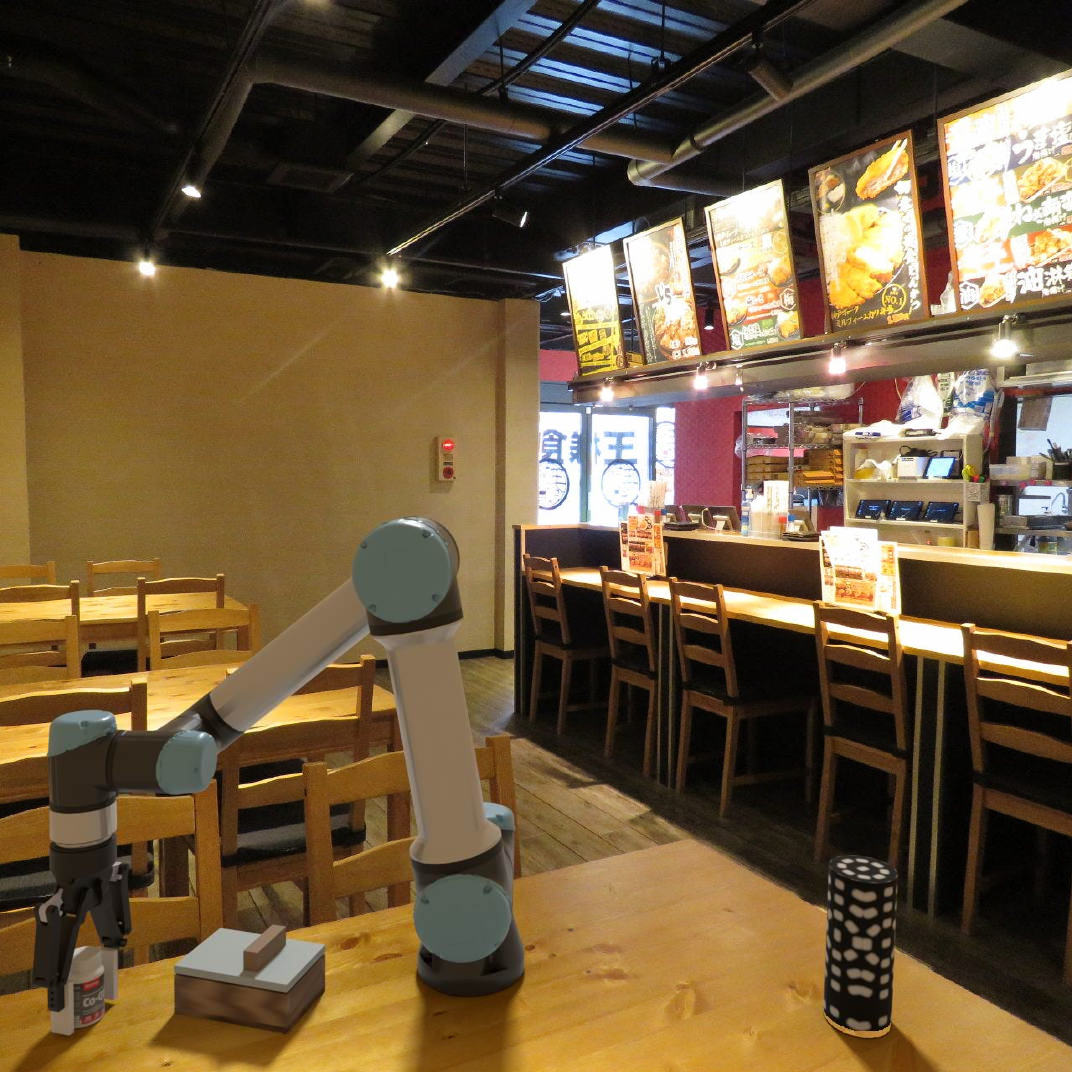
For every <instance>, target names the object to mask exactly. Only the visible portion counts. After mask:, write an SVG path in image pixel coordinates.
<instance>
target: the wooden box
mask: <svg viewBox="0 0 1072 1072" xmlns="http://www.w3.org/2000/svg"><path fill="white" fill-rule="evenodd" d="M173 979H174V980H173V983H174V985H173V987H174V988H173V989H174V990H173V991H174V993H173V994H174V995H173V999H174V1003H173V1004H174V1006H173V1007H174V1010H173V1011H174V1012H173V1013H174V1014H178V1015H184V1016H189V1017H193V1018H194V1017H195V1018H198V1019H205V1020H209V1021H213V1022H214V1021H215V1022H219V1023H220V1022H221V1023H226V1024H232V1025H236V1026H241V1027H243V1026H244V1027H246V1028H252V1029H258V1030H262V1031H267V1032H272V1033H273V1032H274V1033H279V1034H285V1035H287V1034H288V1033H289V1032H291V1030H292V1029H293V1028H294V1026H295V1025H296V1024H297V1023H298V1022H299V1020H300V1019H301V1018H302V1017H303V1016H304V1015H305V1014H306V1013H307V1012H308V1010H309V1009H310V1008H311V1007H312V1006H313V1004H315V1003H316V1001H317V1000H318V999H319V998H320V997H321V996H322V994H323V993H324V992H325V991H326V953H324V954H323V955H322V956H321V957H320V958H319V959H318V960H317V961H316V962H315V963H314V964H313V965H312V966H311V968H310V969H309V970H308V971H307V972H306V973H305V974H304V975H303V976H302V977H301V978H300V979H299V980H298V981H297V982H296V983H295V984H294V986H293V987H292V988H291V989H290V990H289V991H288V992H287V993H286V992H280V991H274V990H269V989H263V988H257V987H252V986H246V985H240V984H235V983H229V982H223V981H217V980H212V979H206V978H200V977H195V976H189V975H183V974H178V973H174V975H173Z"/></svg>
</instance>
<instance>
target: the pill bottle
mask: <svg viewBox="0 0 1072 1072" xmlns="http://www.w3.org/2000/svg"><path fill="white" fill-rule="evenodd" d="M98 947H99V946H96V945H95V946H94V945H84V946H80V947H77V948H75V950H74V955H73V959H72V963H71V968H70V972H69V976H68V980H73V993H74V1029H81V1028H86V1027H89V1026H92V1025H94V1024H96V1023H98V1022H99V1021H100V1020H101V1019H102V1018H103V1017H104V1015H105V1010H106V1007H105V1005H106V1004H105V1000H106V999H104V965H103V964H102V963H101V950H100V948H98Z"/></svg>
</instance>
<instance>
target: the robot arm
mask: <svg viewBox="0 0 1072 1072" xmlns="http://www.w3.org/2000/svg"><path fill="white" fill-rule="evenodd" d="M354 553H355V554H354V556H353V560H352V565H351V576H350V577H349V578H348V579H347V580H346V581H345V582H344V583H342V584H341V585H340V586H339V587H337V588H336V589H335V590H334V591H332V592H331V593H330V594H328V595H327V596H326V597H325V598H324V599H323V600H321V601H320V602H318V603H317V604H315V606H314V607H312V608H311V609H310V610H308V611H307V612H306V613H305V614H304V615H302V616H301V617H300V618H299V619H297V620H296V621H295V622H294V623H293V624H291V625H290V626H289V627H288V628H286V629H285V630H284V631H282V632H281V633H280V634H279V635H278V636H277V637H276V638H274V639H273V640H271V641H270V642H269V643H268V644H266V645H265V646H264V647H263V648H261V650H259V651H257V653H255V654H254V655H253V656H252V657H250V658H249V659H248V660H247V661H246V662H244V663H243V664H242V665H241V666H239V667H238V668H236V670H234V671H233V672H232V673H231V674H230V675H228V676H227V677H226V678H224V679H223V680H222V681H221V682H220V683H218V684H217V685H216V686H214V687H213V688H212V689H211V690H210V691H208V692H207V693H206V694H204V695H203V696H202V697H200V698H199V699H198V700H197V701H195V703H193V704H192V705H191V706H189V707H188V708H187V709H185V710H184V711H183V712H181V713H180V714H179V715H177V716H176V717H174V718H173V719H171V720H170V721H168V722H167V723H165V724H163V725H162V726H160V727H159V728H158V729H155V730H131V729H130V730H127V729H118V727H117V726H118V724H117V720H116V716H115V715H114V714H113V713H112V712H110V711H108V710H107V711H106V710H105V711H103V710H101V709H89V710H88V709H87V710H85V709H84V710H79V711H77V710H76V711H73V712H72V711H71V712H67V713H64V714H62V715H59V716H58V717H56V718H54V719H53V721H52V722H51V723H50V724H49V729H48V746H47V753H46V757H47V759H48V789H49V793H48V794H49V799H48V802H49V805H48V807H49V808H48V809H49V815H48V816H49V840H51V842H50V843H49V846H48V847H49V850H48V851H49V871H50V873H51V874H52V876H53V877H54V879H55V885H54V887H53V888H54V889H53V891H52V897H50V898H49V900H47V901H46V902H45V903H42V902H38V903H36V904H35V905H34V907H33V915H34V918H35V924H36V926H35V938H34V948H33V949H34V950H33V951H34V952H33V965H32V975H31V976H32V979H31V985H32V986H33V987H38V988H42V989H46V990H47V992H46V993H47V999H46V1000H47V1010H48V1011H49V1012H50V1033H55V1034H58V1035H65V1036H71V1035H72V1034H73V1033H75V1028H74V993H73V980H68V976H69V972H70V968H71V963H72V959H73V955H74V950H75V949H76V946H77V942H78V937H79V934H80V929H81V926H82V925H84V923H85V921H86V918H87V914H88V912H89V913H90V914H89V915H90V916H91V918H92V922H93V925H94V927H95V930H96V933H97V936H98V939H99V942H100V944H101V945H103V946H101V945H99V946H97V947H98V948H100V950H101V963H102V964H103V965H104V999H105V1000H108V1001H115V1000H116V999H117V998H118V997H119V978H118V977H119V974H118V973H119V972H118V971H119V969H118V968H119V967H120V948H125V947H126V946H127V944H128V938H124V937H125V936H129V935H130V934H131V932H132V930H133V929H132V928H133V927H132V916H131V905H130V897H129V884H128V883H129V882H128V877H129V871H130V864H129V863H128V862H120V861H117V859H118V856H117V855H118V848H117V847H118V845H117V844H118V843H117V842H118V840H117V839H118V836H117V834H116V833H115V832H116V830H117V829H118V815H117V813H118V811H117V810H118V807H117V793H142V794H144V793H147V794H169V795H181V794H195V793H201V792H203V791H205V790H207V788H208V787H209V786H210V784H211V782H212V779H213V777H215V776H214V775H215V773H216V769H217V761H218V755H219V754H221V753H222V752H223V751H224V750H226V749H227V748H228V747H229V746H231V744H233V743H234V742H235V741H236V740H238V739H239V738H240V737H241V736H243V734H245V733H246V732H247V731H248V730H249V729H251V728H252V727H253V726H255V725H256V724H257V723H258V722H260V721H261V720H262V719H263V718H265V717H266V716H268V714H270V713H271V712H272V711H273V710H275V709H276V708H278V706H279V705H281V704H282V703H283V702H285V701H286V700H287V699H288V698H289V697H291V696H292V695H294V694H295V693H296V692H298V690H299V689H301V688H302V687H303V686H305V685H306V684H308V682H310V681H312V679H314V678H315V677H316V676H317V675H319V674H320V673H321V672H322V671H323V670H325V669H326V668H327V667H329V666H330V665H331V664H333V662H335V661H336V660H337V659H339V658H340V657H341V656H342V655H344V654H345V653H346V652H347V651H349V650H350V649H351V648H353V647H354V646H355V645H356V644H357V643H359V642H360V641H362V640H363V638H365V637H367V636H368V634H369V635H370V639H373V640H374V641H376V642H378V644H379V645H381V646H383V647H384V649H385V652H386V658H387V664H388V671H389V675H390V681H391V686H392V692H393V698H394V703H395V708H396V715H397V719H398V725H399V726H398V727H399V732H400V737H401V743H402V746H403V754H404V758H405V759H404V760H405V765H406V770H407V776H408V781H409V786H410V792H411V799H412V803H413V809H414V814H415V815H414V816H415V821H416V827H417V831H418V834H417V836H416V837H415V839H414V840H413V842H412V843H411V844H410V847H409V858H410V859H409V860H410V864H411V868H412V875H413V876H412V877H413V881H414V886H415V893H416V900H415V903H414V905H413V909H412V910H413V913H412V916H413V924H414V929H415V930H414V931H415V933H416V935H417V937H418V940H419V941H420V944H419V947H418V951H417V973H418V976H419V977H420V979H421V980H422V981H423V982H424V983H425V984H426V985H427V986H428V987H430V988H433V989H434V990H437V991H438V992H441V993H445V994H449V995H455V996H463V997H464V996H465V997H467V996H469V997H471V996H472V997H473V996H483V995H488V994H493V993H497V992H500V991H502V990H504V989H507V988H508V987H510V986H512V985H513V984H515V983H516V982H517V981H518V980H519V979H520V978H521V976H522V974H523V973H524V970H525V947H524V944H523V941H522V937H521V934H520V932H519V929H518V926H517V922H516V918H515V916H514V873H515V872H514V865H515V863H514V862H515V831H516V829H517V827H516V826H515V815H514V813H513V811H512V810H511V809H510V808H509V807H507V806H505V805H502V804H499V803H495V802H488V801H485V802H484V798H483V796H484V795H483V792H482V786H481V781H480V774H479V768H478V763H477V757H476V751H475V746H474V740H473V735H472V734H473V733H472V729H471V724H470V723H471V722H470V718H469V710H468V705H467V700H466V693H465V690H464V689H465V688H464V682H463V676H462V672H461V671H462V670H461V665H460V659H459V654H458V653H459V652H458V649H457V643H456V642H457V641H456V638H455V635H456V632H457V630H459V627H460V626H461V624H462V623H463V621H464V620H465V617H464V612H463V611H464V610H463V605H462V599H461V593H460V588H459V582H458V575H459V570H460V565H461V556H460V555H461V554H460V550H459V547H458V544H457V540H455V538H454V535H453V534H452V532H450V530H449V529H448V528H447V527H446V526H444V525H443V523H440V522H438V521H437V520H435V519H433V518H430V517H426V516H422V515H418V516H417V515H412V516H407V517H402V518H394V519H393V520H390V521H384V522H382V523H381V524H379V525H377V526H375V528H373V529H372V530H371V531H369V532H368V533H367V534H366V535H365V537H364V538H363V539H362V541H361V543H360V544H359V545H358V547H357V549H356V551H355V552H354ZM73 915H74V916H73Z"/></svg>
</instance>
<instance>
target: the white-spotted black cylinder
mask: <svg viewBox="0 0 1072 1072" xmlns="http://www.w3.org/2000/svg"><path fill="white" fill-rule="evenodd" d="M827 880H828V881H827V882H828V884H827V885H828V886H827V909H826V911H827V912H826V931H825V932H826V933H825V935H826V936H825V960H824V961H825V962H824V983H823V984H824V985H823V986H824V988H823V1006H822V1008H824V1012H825V1014H826V1016H828V1017H829V1018H830V1019H831V1020H832V1021H833V1022H835V1023H836V1024H838V1025H840V1026H844V1027H845V1028H848V1029H851V1030H854V1031H879V1030H883V1029H884V1028H886V1027H888V1026H889V1025H890V1023H891V1024H892V1019H893V1018H892V1017H893V1015H892V1014H893V992H894V975H895V974H894V973H895V972H894V969H895V946H896V929H897V928H896V927H897V926H896V925H897V902H898V881H899V872H898V871H897V870H896V869H895V867H893V866H892V865H891V864H889V863H887V862H885V861H882V860H879V859H877V858H875V857H874V858H873V857H870V856H869V857H868V856H864V855H857V854H856V855H853V854H851V855H849V854H846V855H844V854H843V855H839V856H836V857H833V858H832V859H830V861H829V863H828V879H827Z"/></svg>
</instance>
